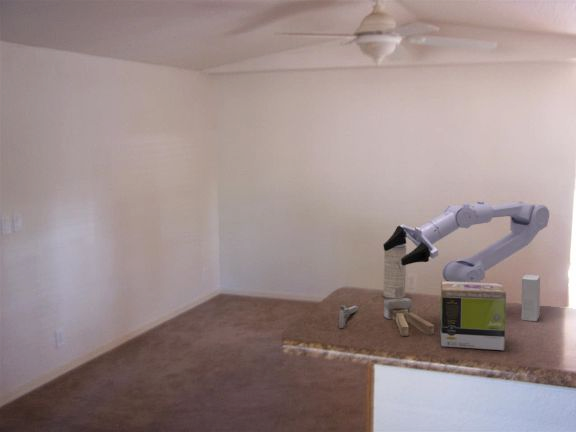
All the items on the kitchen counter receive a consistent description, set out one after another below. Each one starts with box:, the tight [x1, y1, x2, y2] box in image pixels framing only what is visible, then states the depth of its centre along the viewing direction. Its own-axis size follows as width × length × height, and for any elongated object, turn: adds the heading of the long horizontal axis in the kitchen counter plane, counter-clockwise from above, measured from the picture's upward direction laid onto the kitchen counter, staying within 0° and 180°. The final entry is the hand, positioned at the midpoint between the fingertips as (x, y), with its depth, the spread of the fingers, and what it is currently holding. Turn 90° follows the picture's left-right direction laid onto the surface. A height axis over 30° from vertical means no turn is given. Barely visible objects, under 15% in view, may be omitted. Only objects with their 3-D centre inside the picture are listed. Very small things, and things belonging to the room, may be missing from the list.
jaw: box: [395, 311, 409, 337], centre depth 162 cm, size 2×14×2 cm, turn 177°
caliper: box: [338, 305, 359, 329], centre depth 171 cm, size 20×1×6 cm, turn 161°
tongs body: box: [390, 308, 435, 336], centre depth 165 cm, size 4×18×2 cm, turn 17°
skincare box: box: [520, 273, 541, 322], centre depth 170 cm, size 6×4×12 cm
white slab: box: [383, 297, 413, 320], centre depth 172 cm, size 7×3×5 cm, turn 107°
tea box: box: [439, 280, 507, 351], centre depth 150 cm, size 15×10×15 cm
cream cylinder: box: [382, 244, 407, 300], centre depth 191 cm, size 7×7×20 cm
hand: (393, 255), depth 160 cm, fingers open, 7 cm apart
